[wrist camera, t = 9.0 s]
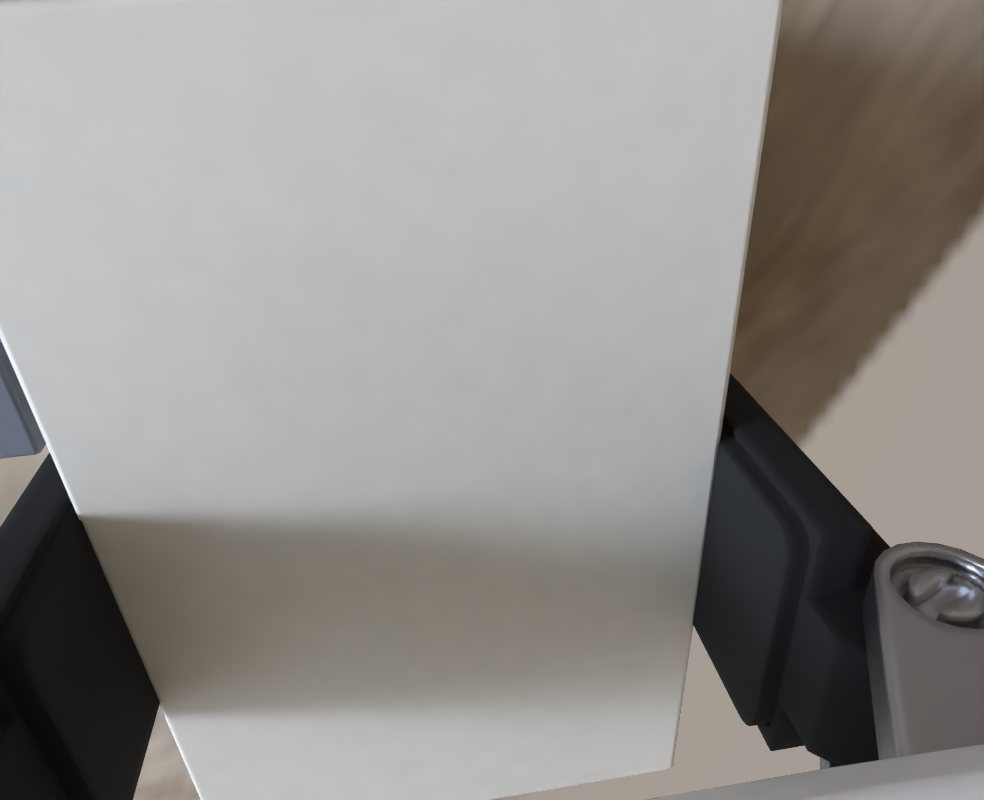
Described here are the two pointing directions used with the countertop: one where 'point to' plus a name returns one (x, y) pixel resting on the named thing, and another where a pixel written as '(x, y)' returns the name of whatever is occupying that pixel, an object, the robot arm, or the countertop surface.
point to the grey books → (16, 415)
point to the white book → (388, 364)
